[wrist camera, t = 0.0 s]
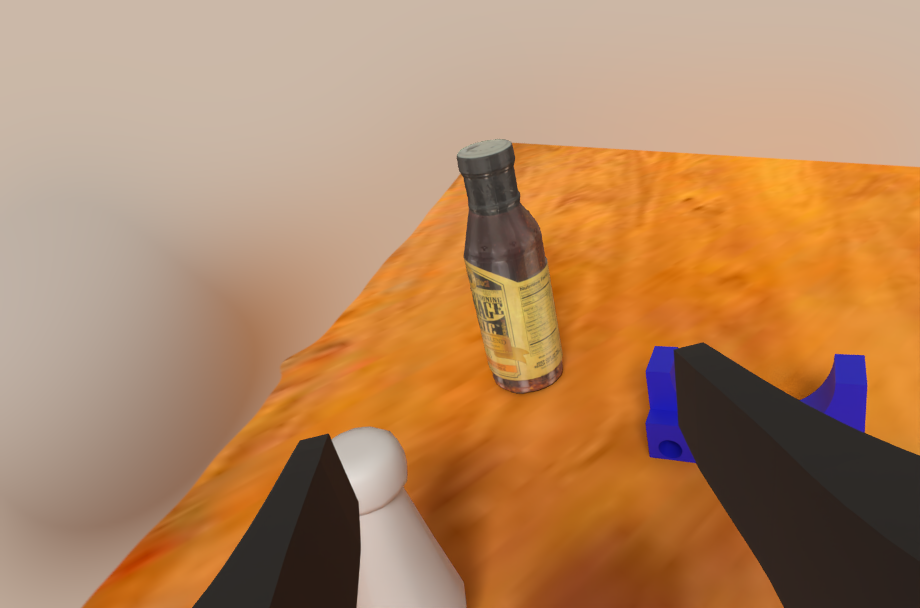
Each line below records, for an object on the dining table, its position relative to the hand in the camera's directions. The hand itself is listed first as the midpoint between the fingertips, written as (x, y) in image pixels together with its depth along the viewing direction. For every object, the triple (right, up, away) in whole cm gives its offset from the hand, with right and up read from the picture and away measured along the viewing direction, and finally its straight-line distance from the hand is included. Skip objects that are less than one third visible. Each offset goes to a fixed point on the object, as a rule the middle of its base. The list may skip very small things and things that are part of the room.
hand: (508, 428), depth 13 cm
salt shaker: (-3, -15, +21) cm, 26 cm away
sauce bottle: (+5, -4, +41) cm, 41 cm away
